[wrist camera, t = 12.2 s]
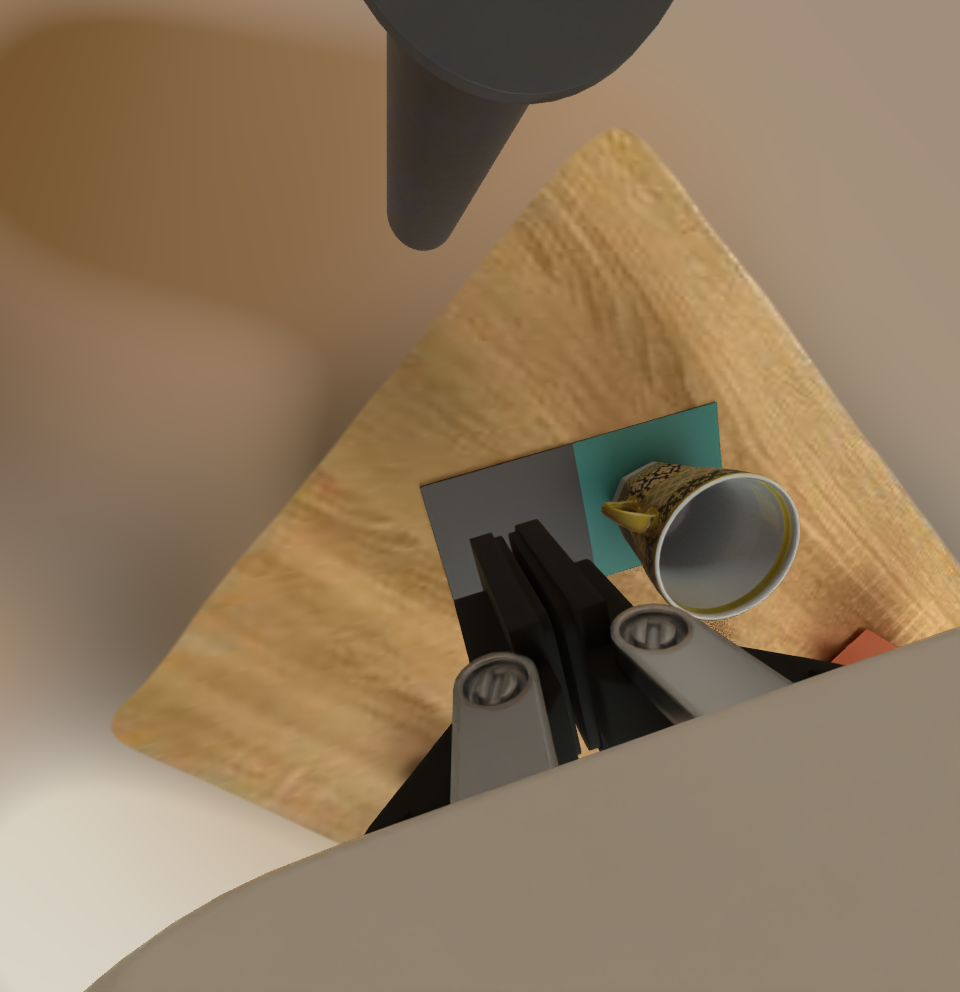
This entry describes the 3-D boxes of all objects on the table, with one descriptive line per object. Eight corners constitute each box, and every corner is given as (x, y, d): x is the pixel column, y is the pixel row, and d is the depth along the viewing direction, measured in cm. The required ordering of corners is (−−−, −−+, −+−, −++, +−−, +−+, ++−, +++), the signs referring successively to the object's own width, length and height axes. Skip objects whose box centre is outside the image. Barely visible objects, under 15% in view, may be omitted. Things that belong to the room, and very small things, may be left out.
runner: (419, 486, 37) (420, 487, 36) (715, 401, 39) (716, 402, 39) (460, 620, 41) (460, 622, 40) (725, 537, 43) (727, 537, 43)
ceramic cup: (725, 460, 40) (827, 496, 31) (676, 568, 43) (757, 633, 33) (584, 414, 37) (652, 439, 28) (540, 534, 39) (587, 596, 30)
